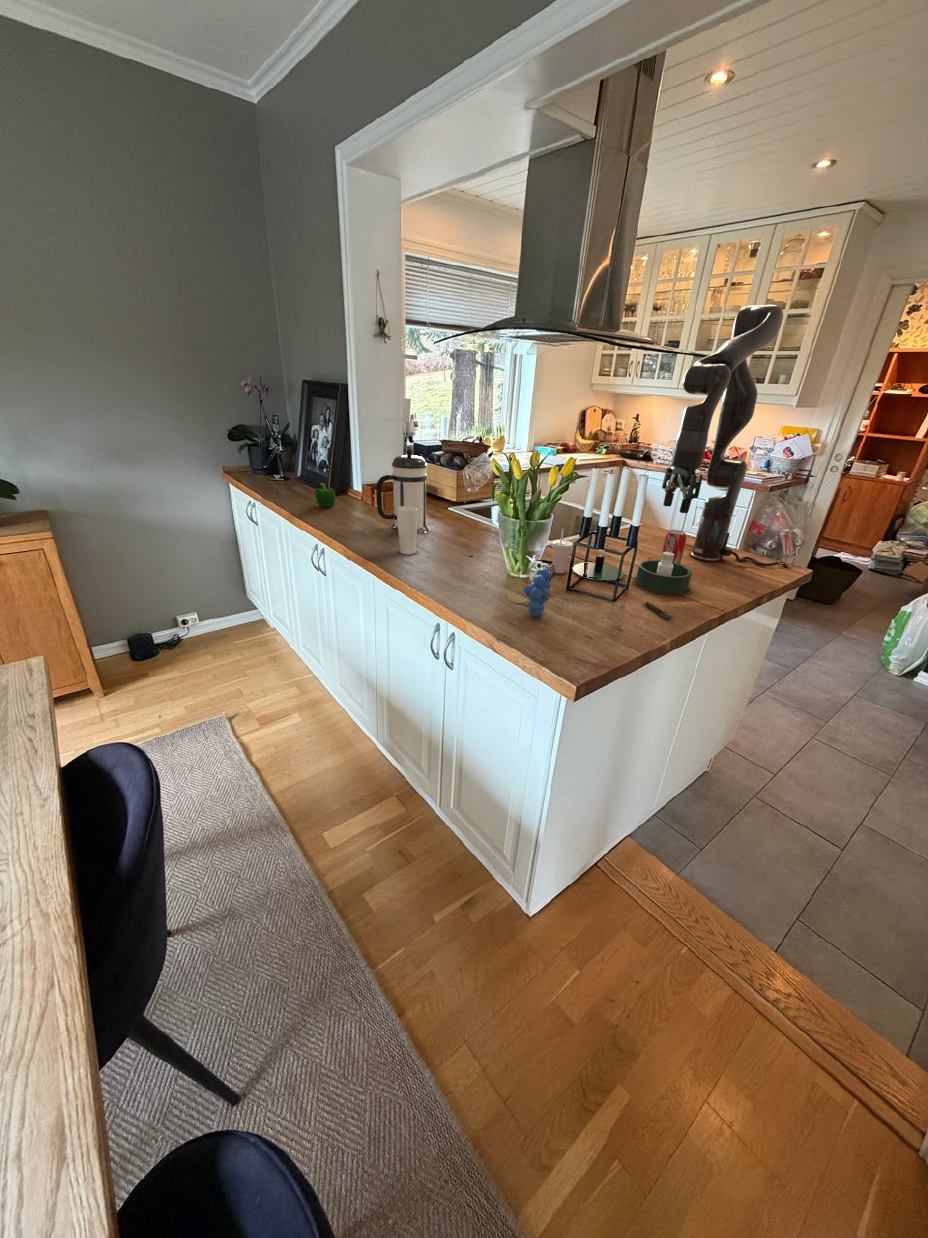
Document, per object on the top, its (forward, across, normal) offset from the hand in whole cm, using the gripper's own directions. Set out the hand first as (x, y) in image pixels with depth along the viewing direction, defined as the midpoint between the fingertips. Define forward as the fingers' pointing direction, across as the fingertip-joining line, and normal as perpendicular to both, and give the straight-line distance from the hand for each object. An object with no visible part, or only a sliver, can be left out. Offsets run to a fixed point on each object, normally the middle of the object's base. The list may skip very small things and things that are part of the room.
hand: (674, 509), depth 135 cm
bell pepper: (+23, +97, +106) cm, 145 cm away
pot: (+23, 0, -1) cm, 23 cm away
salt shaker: (+22, 0, -1) cm, 22 cm away
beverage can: (+22, +14, -12) cm, 29 cm away
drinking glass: (+24, +33, +73) cm, 83 cm away
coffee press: (+23, +59, +72) cm, 96 cm away
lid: (+22, +10, +15) cm, 28 cm away
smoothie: (+23, +12, +27) cm, 37 cm away
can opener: (+23, -18, +10) cm, 31 cm away
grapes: (+24, -16, +43) cm, 52 cm away
